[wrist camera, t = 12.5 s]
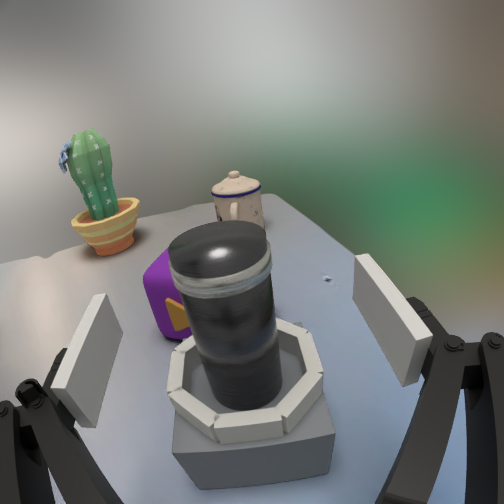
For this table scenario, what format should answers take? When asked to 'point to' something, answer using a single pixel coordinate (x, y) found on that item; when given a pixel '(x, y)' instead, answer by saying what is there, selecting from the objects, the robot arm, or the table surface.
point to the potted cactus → (99, 195)
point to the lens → (230, 309)
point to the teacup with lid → (238, 199)
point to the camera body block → (252, 421)
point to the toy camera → (166, 299)
